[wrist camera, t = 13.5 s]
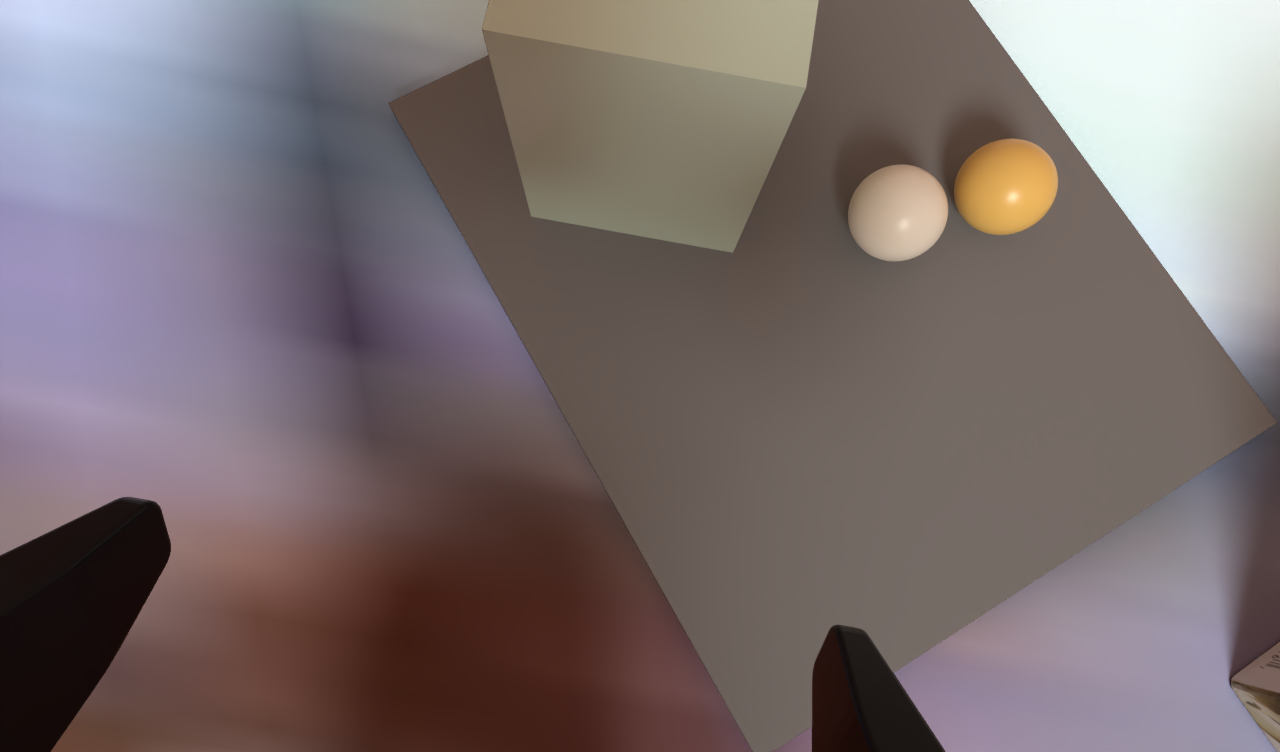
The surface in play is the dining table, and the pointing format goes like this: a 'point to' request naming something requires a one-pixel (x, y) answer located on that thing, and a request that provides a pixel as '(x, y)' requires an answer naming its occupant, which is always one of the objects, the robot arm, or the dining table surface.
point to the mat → (853, 362)
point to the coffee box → (1262, 692)
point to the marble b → (1005, 186)
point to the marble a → (898, 212)
